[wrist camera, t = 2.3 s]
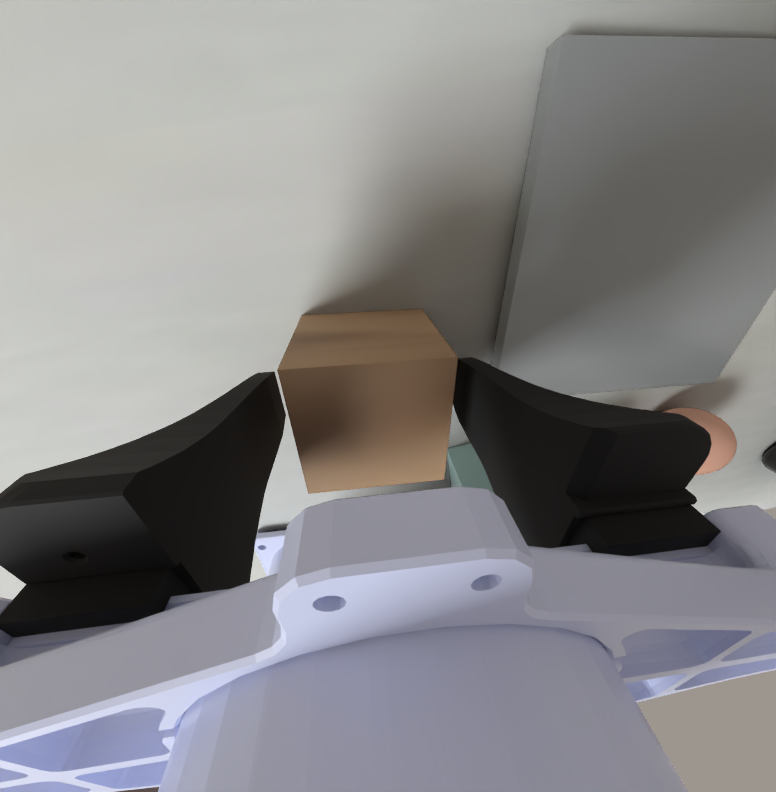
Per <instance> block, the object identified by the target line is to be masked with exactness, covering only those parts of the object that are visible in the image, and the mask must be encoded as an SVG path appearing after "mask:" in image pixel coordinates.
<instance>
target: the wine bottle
mask: <svg viewBox="0 0 776 792" xmlns="http://www.w3.org/2000/svg"><path fill="white" fill-rule="evenodd" d="M762 462H763V464H764V466H765V467H767V468H768V469H770V470H772V471H773V472H775V473H776V444H775V445H774V446H773V447H771V448H770V449H769V450H768V451H766V452H765V453H764V455H763V458H762Z"/></svg>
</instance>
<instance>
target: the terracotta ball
mask: <svg viewBox="0 0 776 792" xmlns="http://www.w3.org/2000/svg"><path fill="white" fill-rule="evenodd" d="M663 412H667V413H676V414H681V415H683V416H685V417H687V418H689V419H690V420H692V421H694V422H695V423H697V424H698V425H700V426H702V427H703V428H705V429H706V430H707V431H708V433H709V434H710V436H711V442H712V445H711V449H710V453H709V455H708V457H707V459H706V460H705V462H704V464H703V465H702V466H701V467H700V469H699V470H698V471H697V473H696V474H695V475H701V474H707V473H711V472H714V471H717V470H719V469H721V468H723V467H724V466H726V465H727V464H728V463H729V462H730V461H731V460H732V458H733V457H734V455H735V452H736V447H737V442H736V437H735V435H734V433H733V431H732V429H731V428H730V427H729V426H728V424H727V423H725V422H724V421H723V420H722V419H721V418H719V417H717V416H716V415H714V414H711V413H709V412H707V411H704V410H700V409H694V408H674V409H670V410H666V411H663Z"/></svg>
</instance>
